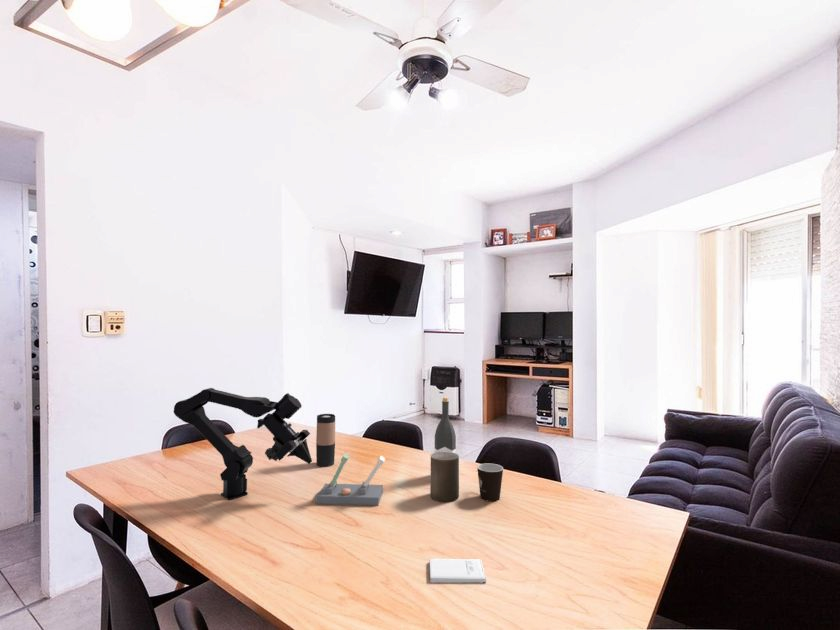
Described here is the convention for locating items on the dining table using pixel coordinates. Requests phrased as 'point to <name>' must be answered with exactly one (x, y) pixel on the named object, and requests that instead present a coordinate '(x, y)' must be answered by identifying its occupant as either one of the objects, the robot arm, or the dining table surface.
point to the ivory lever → (373, 472)
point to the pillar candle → (444, 476)
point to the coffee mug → (490, 481)
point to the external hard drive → (456, 571)
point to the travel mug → (325, 440)
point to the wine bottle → (445, 431)
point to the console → (350, 494)
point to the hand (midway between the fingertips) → (310, 462)
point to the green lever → (338, 471)
